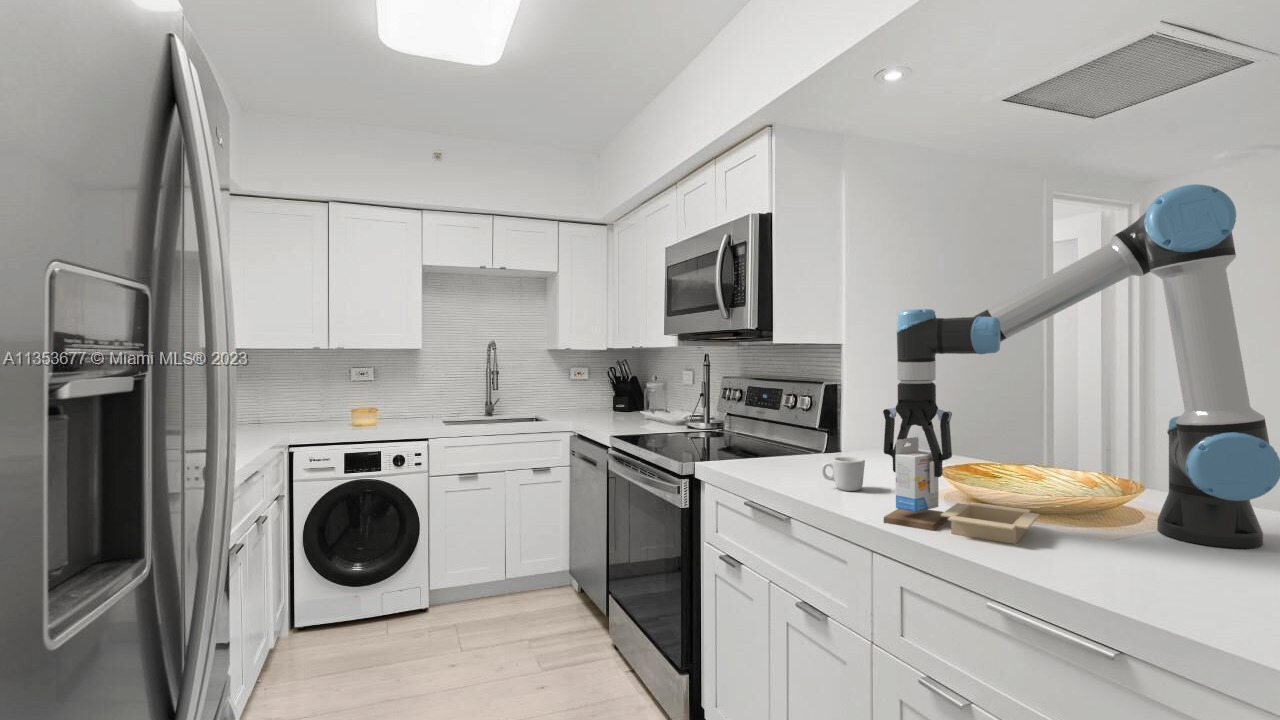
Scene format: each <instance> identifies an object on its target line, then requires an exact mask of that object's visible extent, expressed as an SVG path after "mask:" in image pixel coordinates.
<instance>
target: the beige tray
mask: <svg viewBox="0 0 1280 720" xmlns="http://www.w3.org/2000/svg"><path fill="white" fill-rule="evenodd" d="M943 512H944V513H942V514H941V516H944V517H949V518H948V520H947V521H949V522H951V523H950V524H951V525H950V529H951V530H950V531H951V534H952V535H957V536H964V537H969V538H975V539H980V540H981V539H983V540H988V541H993V542H1001V543H1007V544H1013V545H1016V544H1017V543H1018V542H1019V541H1020V540H1021V539H1022V538H1023V537H1024V535H1025V534H1026V533H1027V532H1028V531H1029V528H1030V527H1031V526H1032V525H1033V524H1034V523H1035V521H1036V520H1037V519H1038V518H1039V517H1040V515H1041V514H1040V513H1035V512H1031V509H1025V508H1019V507H1012V506H1011V507H1010V506H1002V505H996V504H988V503H980V502H973V501H970V502H969V503H968V504H967V503H961V502H957V503H955V504H954V505H953V506H951V507H950V508H947V510H945V511H943Z"/></svg>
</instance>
